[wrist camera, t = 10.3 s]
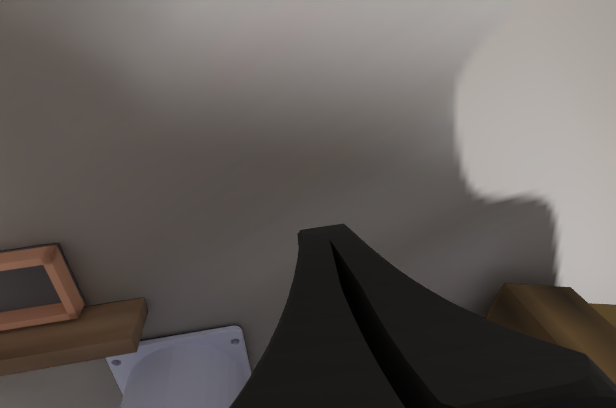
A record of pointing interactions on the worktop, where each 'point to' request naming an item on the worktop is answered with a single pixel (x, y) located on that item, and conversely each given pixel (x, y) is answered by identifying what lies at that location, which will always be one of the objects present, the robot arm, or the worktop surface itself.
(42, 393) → the worktop surface
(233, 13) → the worktop surface
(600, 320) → the crate
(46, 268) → the trap pits
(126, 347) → the wooden tray
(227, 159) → the worktop surface
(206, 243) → the worktop surface
